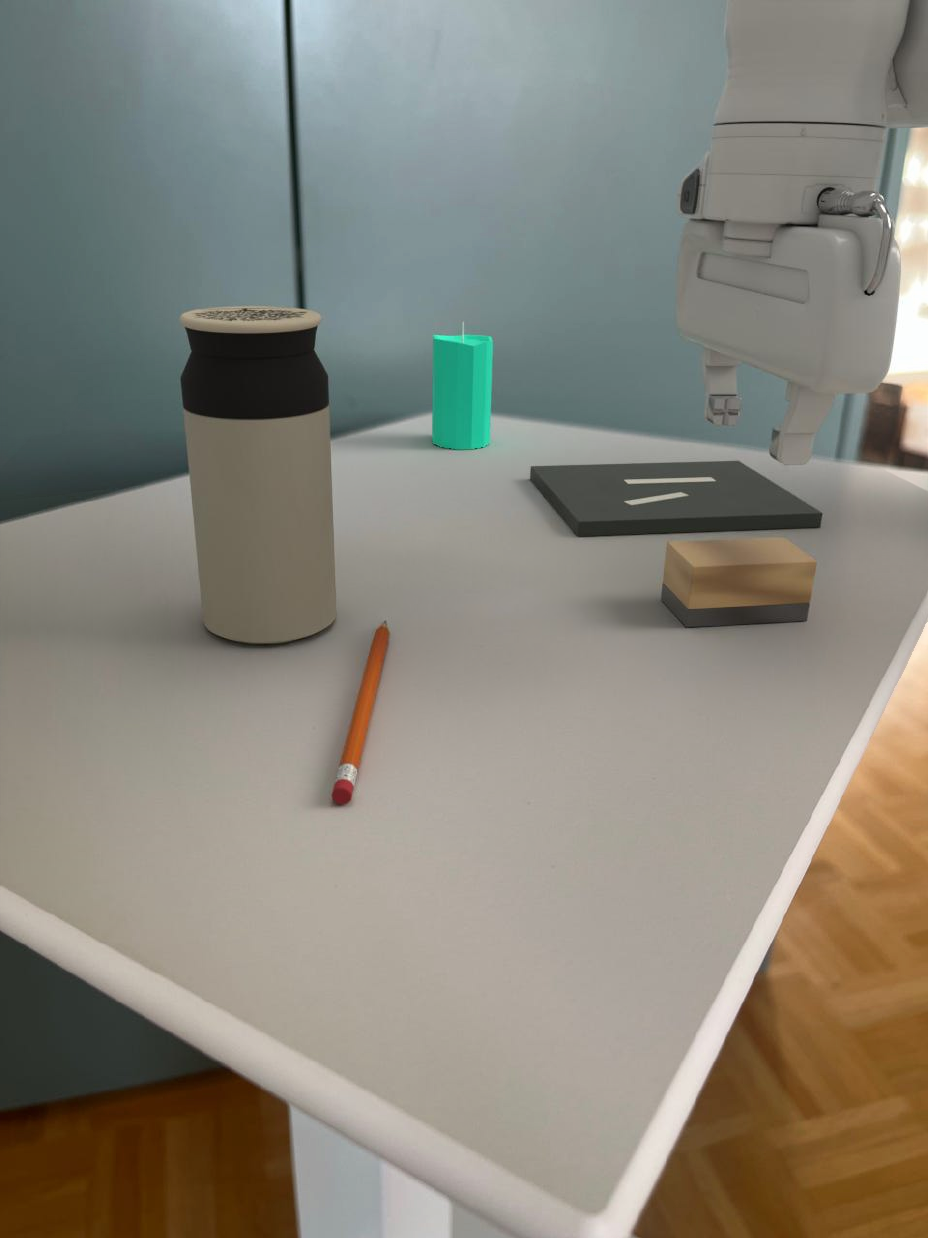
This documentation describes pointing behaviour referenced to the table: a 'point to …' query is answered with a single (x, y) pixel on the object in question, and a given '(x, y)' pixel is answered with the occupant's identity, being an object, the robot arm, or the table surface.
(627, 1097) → the table surface
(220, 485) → the travel mug
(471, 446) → the candle
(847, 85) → the robot arm
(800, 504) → the slate board
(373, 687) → the pencil
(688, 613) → the eraser
